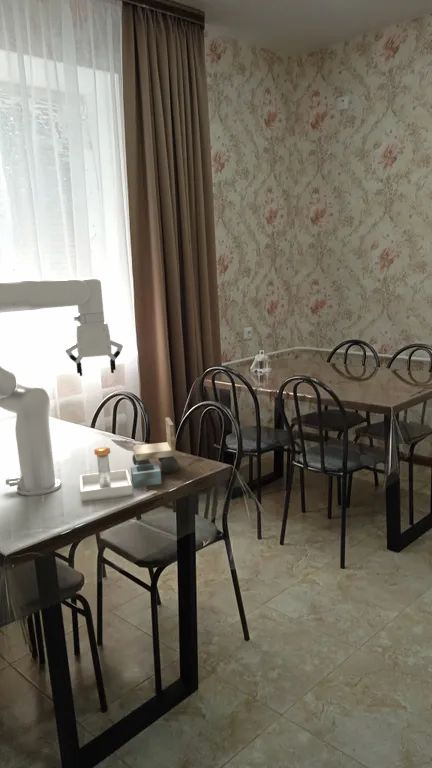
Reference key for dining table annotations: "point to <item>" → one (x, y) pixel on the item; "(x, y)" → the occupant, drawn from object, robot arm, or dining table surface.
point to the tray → (94, 492)
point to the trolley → (165, 452)
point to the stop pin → (103, 466)
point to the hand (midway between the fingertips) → (96, 374)
